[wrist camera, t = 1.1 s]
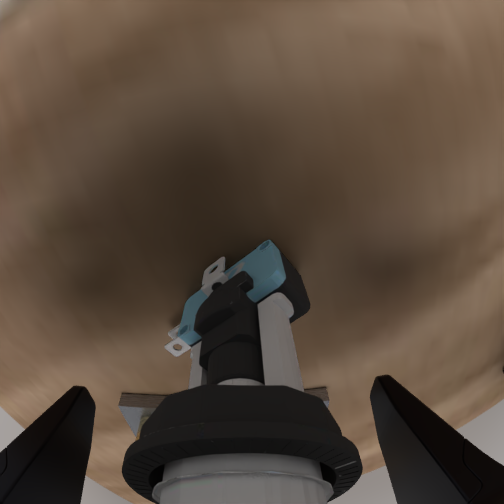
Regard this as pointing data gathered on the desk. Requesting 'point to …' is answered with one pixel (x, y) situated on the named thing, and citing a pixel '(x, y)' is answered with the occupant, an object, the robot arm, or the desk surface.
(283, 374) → the push button
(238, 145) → the desk surface
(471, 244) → the desk surface
